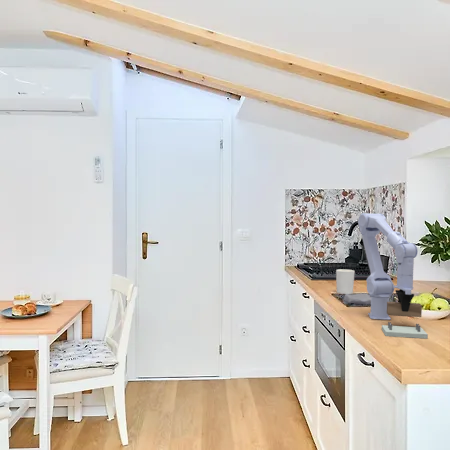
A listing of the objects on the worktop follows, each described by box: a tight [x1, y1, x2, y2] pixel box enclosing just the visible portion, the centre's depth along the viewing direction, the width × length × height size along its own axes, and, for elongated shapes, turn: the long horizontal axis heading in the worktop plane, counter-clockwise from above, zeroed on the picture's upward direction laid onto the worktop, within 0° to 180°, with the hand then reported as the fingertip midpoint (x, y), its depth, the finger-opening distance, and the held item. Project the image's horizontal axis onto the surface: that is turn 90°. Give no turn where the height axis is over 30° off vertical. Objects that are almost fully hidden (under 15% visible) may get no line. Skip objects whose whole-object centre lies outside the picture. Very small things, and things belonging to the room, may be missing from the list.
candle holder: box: [335, 268, 356, 295], centre depth 257 cm, size 10×10×12 cm
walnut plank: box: [387, 301, 423, 318], centre depth 184 cm, size 4×12×4 cm, turn 80°
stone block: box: [343, 292, 371, 305], centre depth 231 cm, size 12×5×10 cm
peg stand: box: [381, 321, 429, 339], centre depth 173 cm, size 10×14×4 cm
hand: (403, 310), depth 184 cm, fingers closed on walnut plank, 4 cm apart
